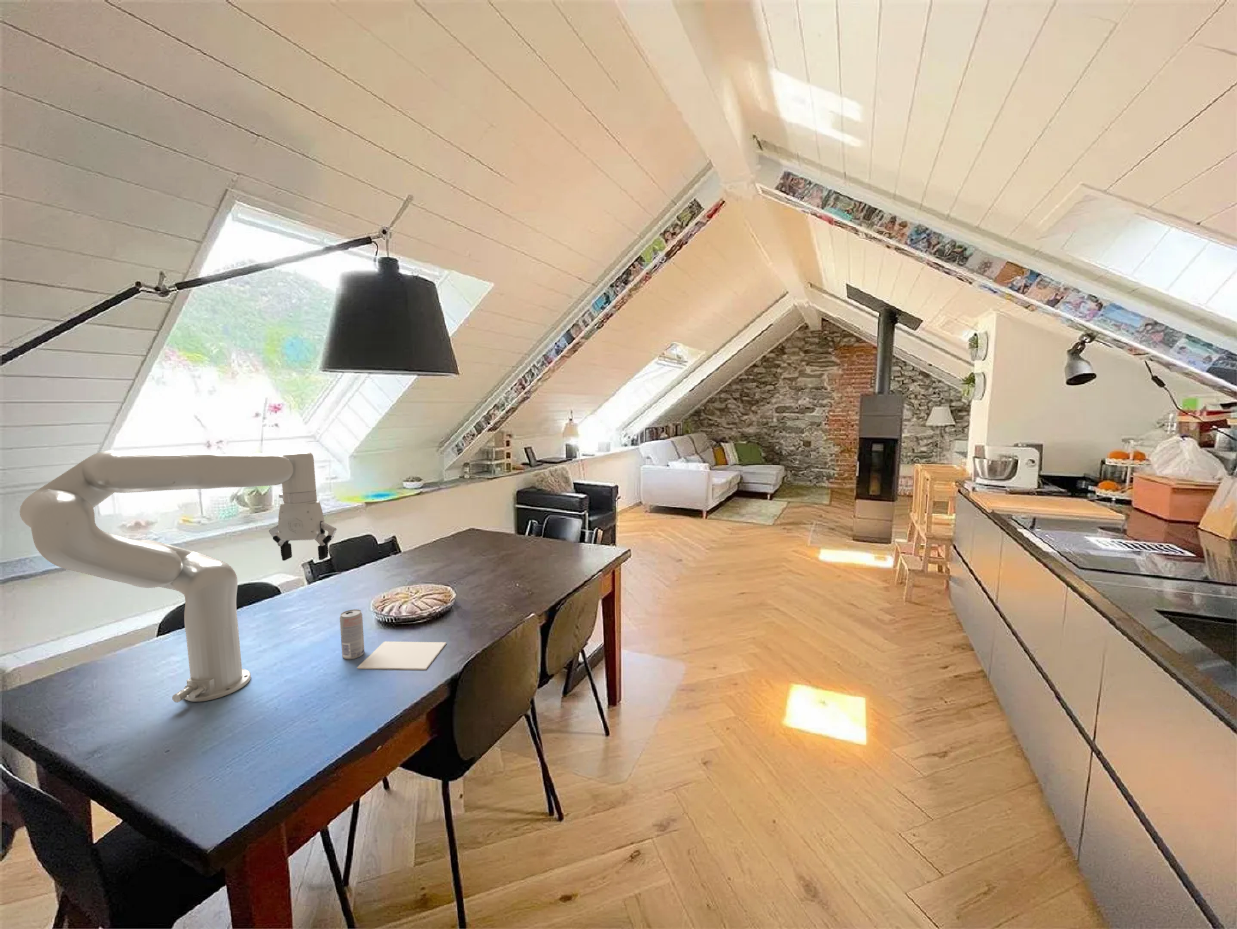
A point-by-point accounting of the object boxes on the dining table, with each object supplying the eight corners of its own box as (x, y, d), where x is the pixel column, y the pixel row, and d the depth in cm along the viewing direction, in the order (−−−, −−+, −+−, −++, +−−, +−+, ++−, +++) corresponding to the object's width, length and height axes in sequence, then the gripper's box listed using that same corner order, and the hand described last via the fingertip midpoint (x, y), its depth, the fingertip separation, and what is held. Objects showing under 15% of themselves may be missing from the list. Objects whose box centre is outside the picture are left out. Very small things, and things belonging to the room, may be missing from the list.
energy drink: (359, 648, 136) (357, 607, 134) (367, 654, 132) (365, 612, 131) (339, 655, 131) (336, 613, 130) (347, 662, 128) (344, 619, 127)
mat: (425, 669, 124) (425, 668, 124) (357, 668, 125) (357, 667, 125) (446, 643, 138) (446, 642, 138) (384, 642, 139) (384, 641, 139)
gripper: (257, 500, 125) (263, 563, 127) (325, 499, 126) (329, 563, 128) (276, 495, 133) (282, 555, 135) (340, 494, 133) (344, 554, 135)
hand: (305, 558), depth 131 cm, fingers open, 9 cm apart
